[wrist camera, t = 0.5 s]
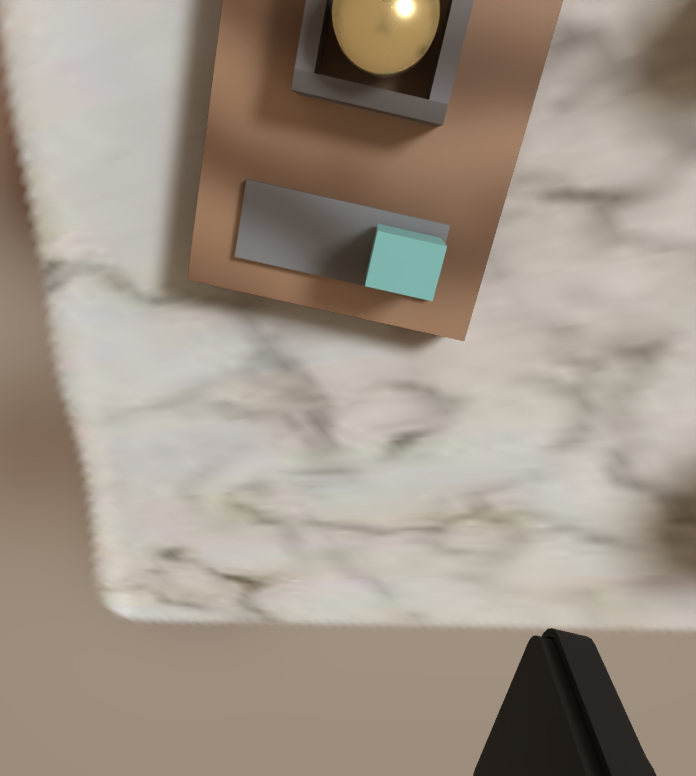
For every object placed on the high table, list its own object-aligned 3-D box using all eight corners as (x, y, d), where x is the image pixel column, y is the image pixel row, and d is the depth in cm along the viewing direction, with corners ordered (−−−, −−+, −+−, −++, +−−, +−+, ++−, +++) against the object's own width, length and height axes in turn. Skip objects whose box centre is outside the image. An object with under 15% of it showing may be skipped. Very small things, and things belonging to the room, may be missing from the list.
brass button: (346, -46, 25) (344, -62, 23) (446, -22, 25) (452, -36, 23) (326, 66, 26) (322, 59, 25) (421, 88, 27) (424, 83, 25)
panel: (283, -352, 25) (263, -460, 21) (627, -265, 26) (679, -352, 21) (200, 270, 34) (173, 289, 29) (458, 328, 34) (470, 354, 30)
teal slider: (377, 223, 30) (377, 230, 27) (441, 237, 30) (446, 246, 27) (366, 274, 30) (364, 286, 28) (427, 288, 31) (432, 301, 28)
